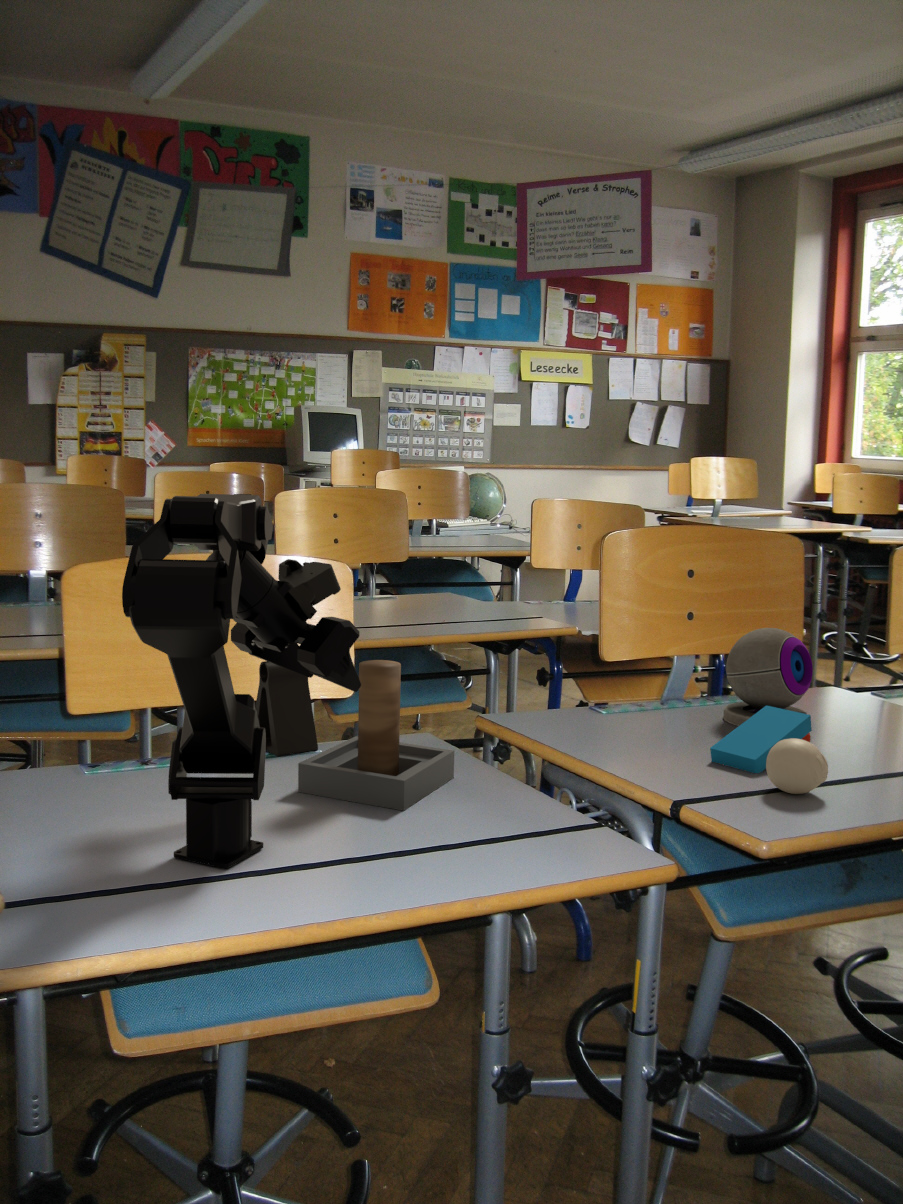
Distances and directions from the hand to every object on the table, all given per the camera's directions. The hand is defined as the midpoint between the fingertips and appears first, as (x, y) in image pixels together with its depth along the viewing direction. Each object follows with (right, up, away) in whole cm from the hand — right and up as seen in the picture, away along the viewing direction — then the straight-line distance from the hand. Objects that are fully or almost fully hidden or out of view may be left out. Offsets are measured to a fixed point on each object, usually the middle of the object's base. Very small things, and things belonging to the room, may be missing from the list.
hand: (334, 681), depth 118 cm
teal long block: (+58, -13, +23) cm, 63 cm away
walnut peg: (+5, -13, +6) cm, 15 cm away
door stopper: (-10, -11, +22) cm, 26 cm away
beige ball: (+56, -14, +7) cm, 58 cm away
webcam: (+63, -10, +43) cm, 77 cm away
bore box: (+5, -13, +6) cm, 15 cm away
